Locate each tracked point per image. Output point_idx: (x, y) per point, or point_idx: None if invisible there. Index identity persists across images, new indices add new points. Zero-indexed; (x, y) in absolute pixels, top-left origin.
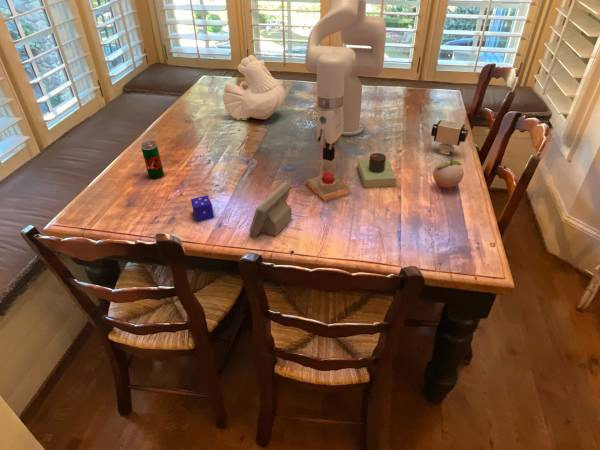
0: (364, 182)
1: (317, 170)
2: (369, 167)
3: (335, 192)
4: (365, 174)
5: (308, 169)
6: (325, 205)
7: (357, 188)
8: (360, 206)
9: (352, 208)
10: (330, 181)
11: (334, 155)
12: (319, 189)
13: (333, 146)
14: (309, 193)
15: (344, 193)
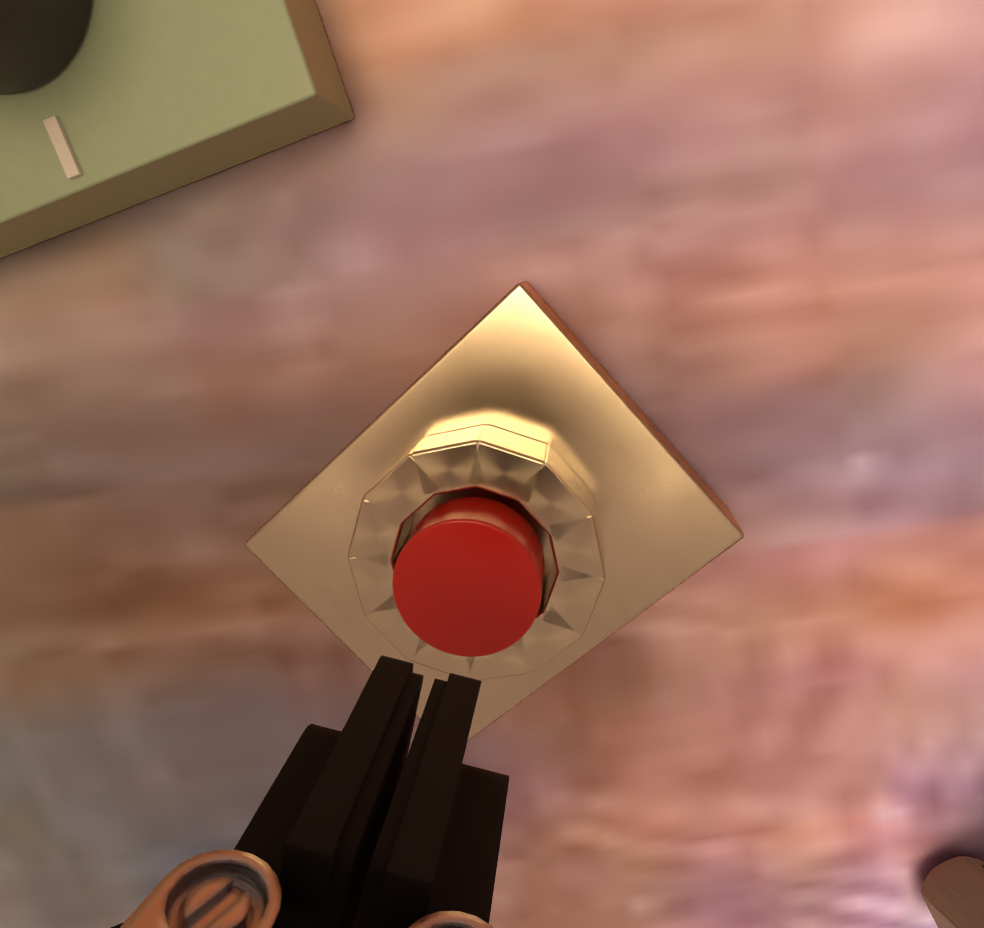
0: (319, 112)
1: (171, 662)
2: (28, 67)
3: (650, 429)
4: (183, 112)
5: (182, 741)
6: (803, 488)
7: (391, 200)
8: (772, 94)
9: (828, 185)
10: (532, 530)
11: (363, 690)
12: (626, 609)
13: (269, 883)
14: (603, 669)
15: (566, 327)
